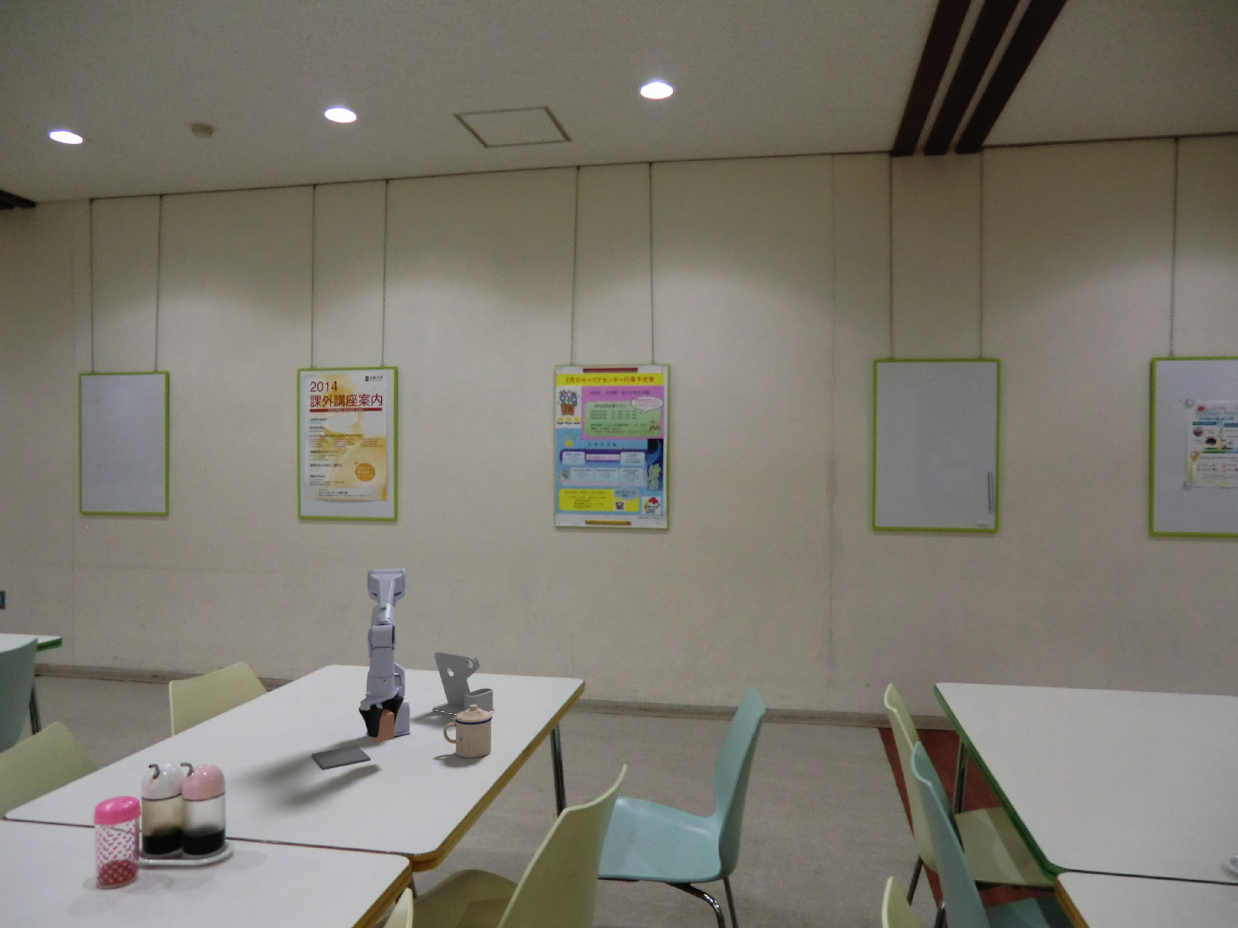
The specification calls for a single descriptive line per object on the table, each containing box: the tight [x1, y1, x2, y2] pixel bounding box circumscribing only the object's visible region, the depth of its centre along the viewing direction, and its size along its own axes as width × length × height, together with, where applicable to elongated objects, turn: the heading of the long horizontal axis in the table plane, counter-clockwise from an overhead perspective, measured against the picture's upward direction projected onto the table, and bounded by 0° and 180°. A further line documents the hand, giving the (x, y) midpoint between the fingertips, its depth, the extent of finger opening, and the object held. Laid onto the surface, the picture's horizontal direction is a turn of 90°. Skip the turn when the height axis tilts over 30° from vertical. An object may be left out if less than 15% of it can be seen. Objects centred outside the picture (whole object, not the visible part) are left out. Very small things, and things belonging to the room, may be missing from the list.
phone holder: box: [432, 648, 495, 715], centre depth 230 cm, size 17×10×18 cm, turn 56°
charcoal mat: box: [311, 745, 371, 770], centre depth 190 cm, size 11×11×1 cm
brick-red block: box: [368, 709, 395, 744], centre depth 187 cm, size 4×4×6 cm
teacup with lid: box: [442, 704, 493, 759], centre depth 195 cm, size 12×9×12 cm
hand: (381, 732), depth 187 cm, fingers closed on brick-red block, 6 cm apart
